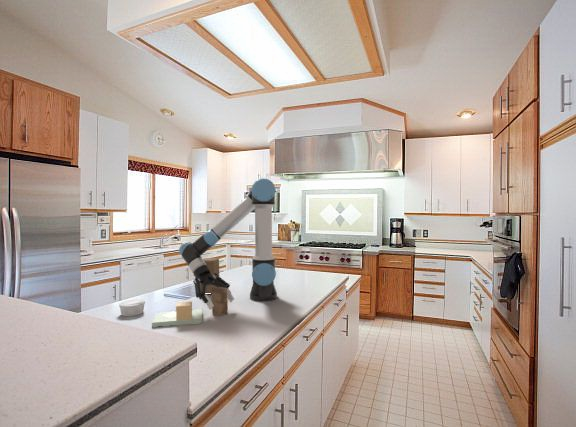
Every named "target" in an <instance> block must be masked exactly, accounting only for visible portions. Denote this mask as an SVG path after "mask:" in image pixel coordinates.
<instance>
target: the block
mask: <svg viewBox="0 0 576 427" xmlns="http://www.w3.org/2000/svg"><path fill="white" fill-rule="evenodd" d="M202 259H203V260H204V262H205V263H206V265H207V266H208V268H209V269H210V273H211V274H212V275H214V274H215V273H216V274H217V275H218V276H219V277H220V259H219V258H218V257H217V258H216V257H212V258H210V257H209V258H208V257H204V258H202ZM213 282H214V280H213ZM199 283H200V282H199ZM214 288H217V286H215V285H207V286H206V289H205V293H211V294H212V289H214ZM200 290H201V283H200Z"/></svg>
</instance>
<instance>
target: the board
mask: <svg viewBox="0 0 576 427" xmlns="http://www.w3.org/2000/svg"><path fill="white" fill-rule="evenodd" d="M203 312H204V309H203V308H202V309H201V308H200V309H199V308H198V309H192V317H191V319H188V320H176V310H175V311H173V310H172V311H162V312H161V311H160V312H157V313H156V315H155V317H154V319H153V320H152V322H151V327H152V328H159V327H158V326H163V327H170V326H169V325H173V326H172V327H174V325H175V326H183V325H196V324H198V325H199V324H202V322H203V321H202V320H203V315H204V314H203Z"/></svg>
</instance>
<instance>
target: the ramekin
mask: <svg viewBox="0 0 576 427" xmlns="http://www.w3.org/2000/svg"><path fill="white" fill-rule="evenodd" d="M145 304H146V300H144V299H129V300H124V301H122V302H120V303H119V310H120V314H121V315H122V316H123V317H133V316H139V315H141V314H143V312H144V310H145Z"/></svg>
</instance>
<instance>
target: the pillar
mask: <svg viewBox="0 0 576 427" xmlns="http://www.w3.org/2000/svg"><path fill="white" fill-rule="evenodd" d="M228 301H229V300H228V298H227V288H224V287H217V288H214V289H212V295H211V302H212V303H213V305H214V306H213V308H212V309H211V313H212V314H213V316H217V317H222V316H224V315H227V314H228V313H229V312H228V311H229V310H228V307H229V306H228ZM212 314H211V315H212Z"/></svg>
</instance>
